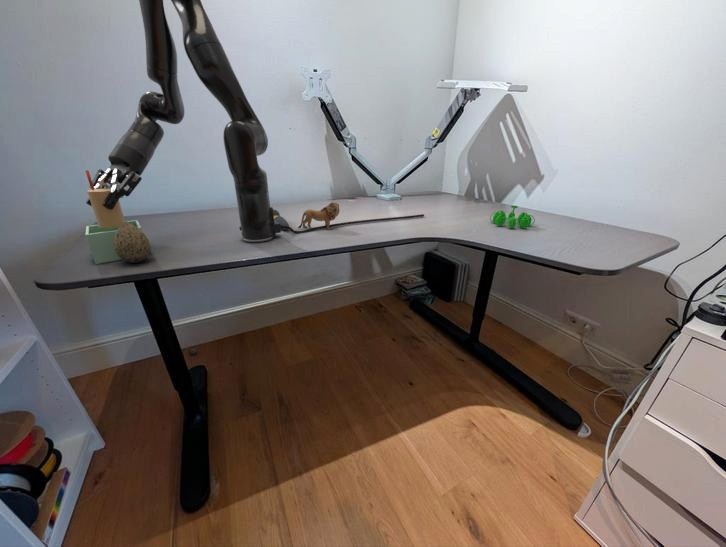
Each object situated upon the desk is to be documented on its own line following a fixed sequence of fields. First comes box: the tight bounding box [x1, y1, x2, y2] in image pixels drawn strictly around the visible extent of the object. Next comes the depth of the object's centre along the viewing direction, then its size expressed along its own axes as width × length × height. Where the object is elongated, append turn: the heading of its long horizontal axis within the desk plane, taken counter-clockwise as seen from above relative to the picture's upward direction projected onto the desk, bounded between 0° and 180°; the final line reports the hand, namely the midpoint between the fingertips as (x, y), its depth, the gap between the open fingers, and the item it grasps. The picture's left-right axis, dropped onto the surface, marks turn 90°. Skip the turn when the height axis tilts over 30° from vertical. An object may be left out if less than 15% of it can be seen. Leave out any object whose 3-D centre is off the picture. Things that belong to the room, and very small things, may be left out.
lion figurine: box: [297, 201, 341, 231], centre depth 107 cm, size 15×5×9 cm, turn 103°
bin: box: [84, 219, 143, 265], centre depth 82 cm, size 11×10×8 cm
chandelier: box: [489, 205, 536, 230], centre depth 114 cm, size 15×15×7 cm
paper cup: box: [85, 169, 126, 228], centre depth 78 cm, size 6×6×14 cm
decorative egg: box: [114, 223, 151, 264], centre depth 76 cm, size 7×7×10 cm
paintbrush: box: [273, 208, 290, 231], centre depth 112 cm, size 20×5×5 cm, turn 38°
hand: (98, 206), depth 77 cm, fingers closed on paper cup, 5 cm apart
